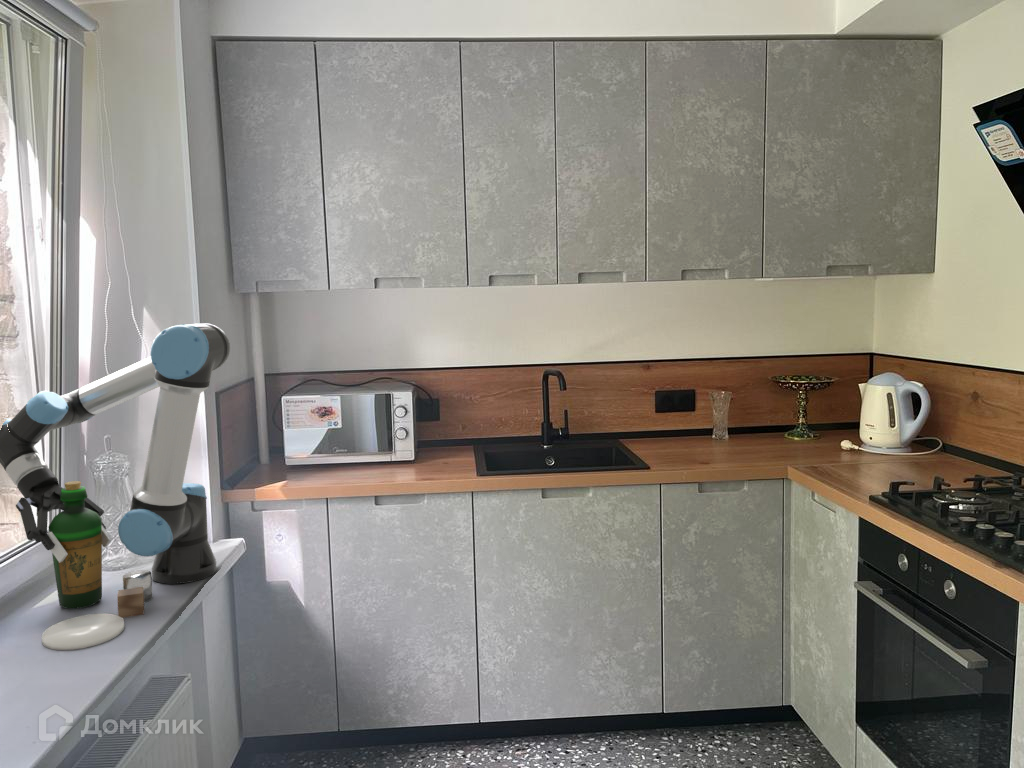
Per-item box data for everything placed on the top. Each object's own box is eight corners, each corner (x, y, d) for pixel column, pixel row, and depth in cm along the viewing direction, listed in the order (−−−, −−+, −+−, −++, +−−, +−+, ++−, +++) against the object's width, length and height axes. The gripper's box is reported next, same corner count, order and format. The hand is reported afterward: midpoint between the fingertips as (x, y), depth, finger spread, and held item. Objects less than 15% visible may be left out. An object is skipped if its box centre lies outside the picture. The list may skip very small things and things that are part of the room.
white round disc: (126, 614, 171) (126, 609, 171) (121, 642, 157) (121, 636, 157) (48, 625, 165) (47, 620, 165) (36, 655, 152) (35, 649, 151)
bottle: (78, 614, 170) (69, 490, 167) (42, 608, 174) (33, 486, 170) (118, 597, 180) (110, 479, 177) (83, 591, 184) (75, 475, 180)
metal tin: (153, 593, 184) (151, 568, 183) (152, 602, 178) (150, 577, 177) (124, 596, 181) (123, 572, 181) (123, 606, 176) (121, 580, 175)
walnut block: (144, 608, 175) (143, 586, 174) (143, 614, 171) (142, 593, 171) (119, 611, 173) (118, 590, 172) (118, 618, 169) (117, 596, 169)
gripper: (-11, 477, 166) (46, 556, 162) (84, 456, 188) (136, 526, 184) (-25, 499, 169) (30, 577, 165) (70, 476, 190) (121, 545, 186)
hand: (86, 550), depth 174 cm, fingers closed on bottle, 11 cm apart
